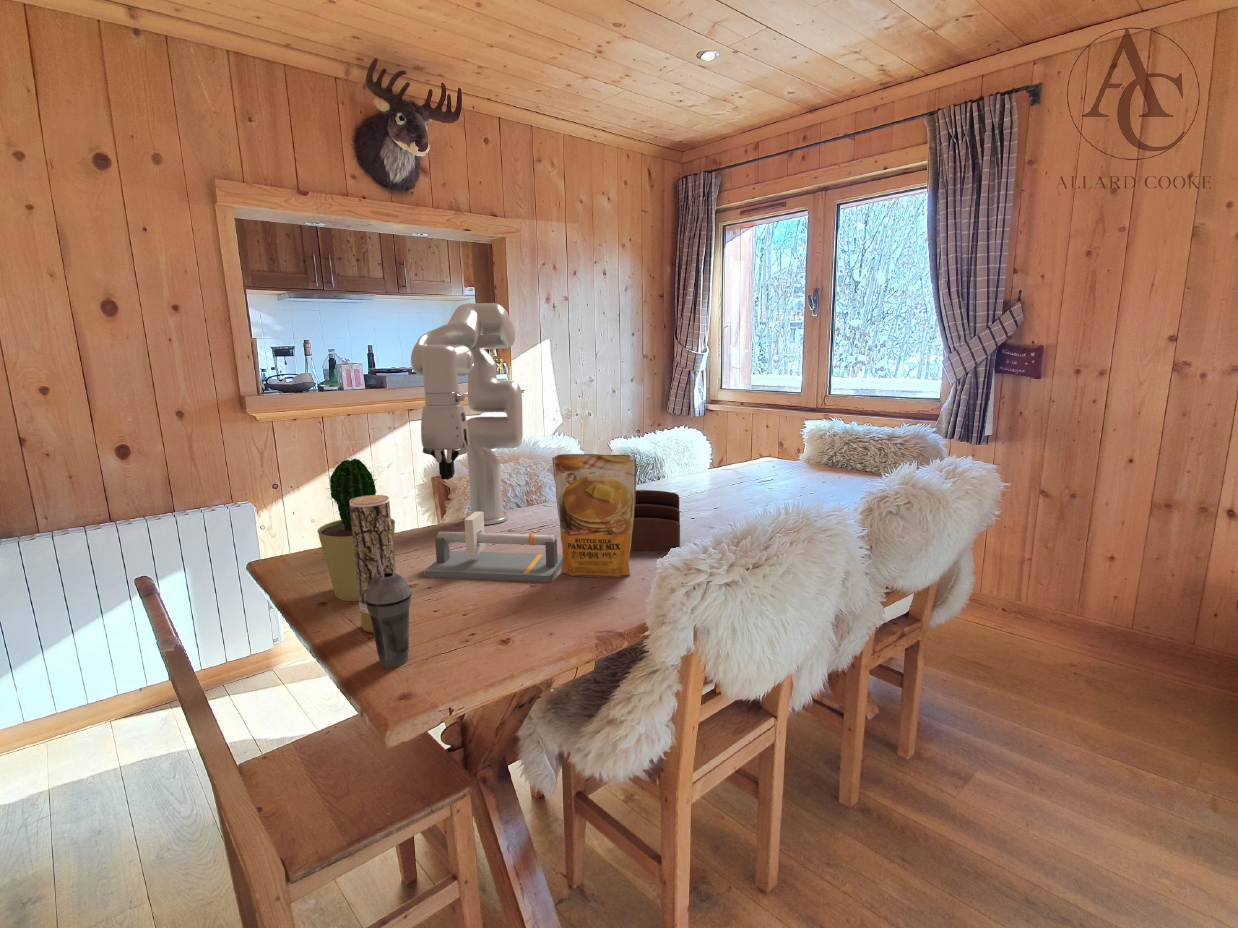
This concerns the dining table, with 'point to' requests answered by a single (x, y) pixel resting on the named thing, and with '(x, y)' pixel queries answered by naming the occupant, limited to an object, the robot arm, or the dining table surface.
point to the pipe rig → (496, 559)
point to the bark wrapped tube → (371, 544)
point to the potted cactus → (345, 526)
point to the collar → (474, 533)
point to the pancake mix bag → (595, 512)
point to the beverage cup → (389, 616)
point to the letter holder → (656, 521)
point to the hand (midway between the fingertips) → (447, 478)
